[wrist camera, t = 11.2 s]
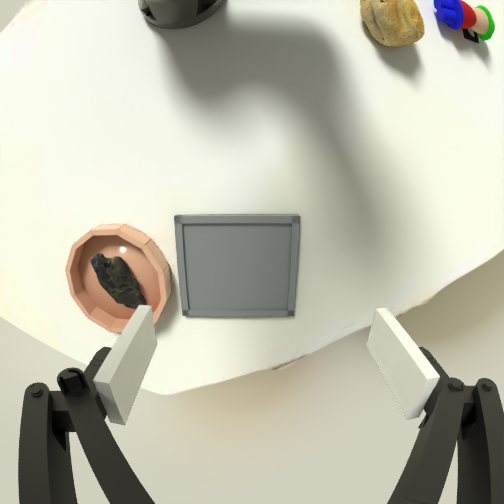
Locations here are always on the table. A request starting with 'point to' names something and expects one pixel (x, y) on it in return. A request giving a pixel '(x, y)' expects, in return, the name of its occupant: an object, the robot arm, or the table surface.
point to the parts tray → (237, 264)
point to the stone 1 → (118, 280)
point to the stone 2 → (393, 21)
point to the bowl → (138, 261)
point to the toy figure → (466, 18)
